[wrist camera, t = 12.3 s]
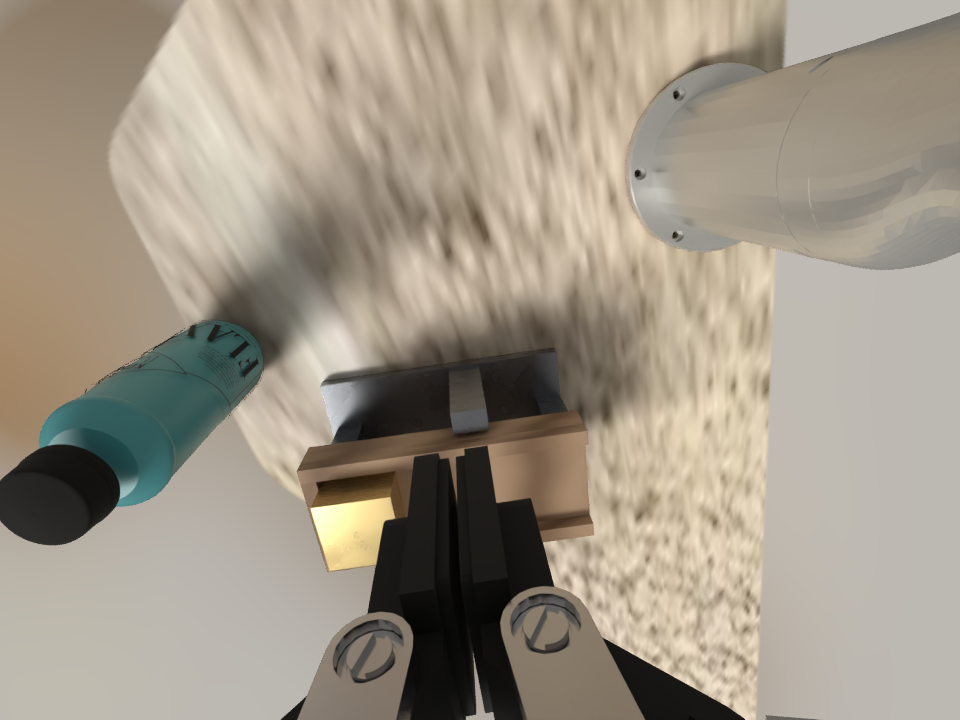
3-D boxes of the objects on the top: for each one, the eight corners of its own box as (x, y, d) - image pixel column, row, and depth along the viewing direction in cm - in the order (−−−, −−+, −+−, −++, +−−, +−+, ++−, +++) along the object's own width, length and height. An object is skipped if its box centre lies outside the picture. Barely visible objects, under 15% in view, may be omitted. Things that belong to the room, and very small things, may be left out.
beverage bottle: (290, 351, 40) (155, 509, 21) (237, 405, 41) (65, 598, 23) (221, 293, 38) (7, 411, 19) (168, 351, 39) (-82, 514, 21)
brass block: (395, 470, 34) (390, 497, 31) (408, 529, 36) (405, 560, 33) (322, 480, 34) (310, 508, 31) (339, 539, 36) (329, 571, 33)
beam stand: (553, 347, 41) (580, 391, 33) (564, 479, 46) (590, 546, 38) (323, 381, 41) (292, 434, 33) (356, 510, 46) (337, 585, 37)
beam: (576, 410, 35) (587, 430, 33) (583, 508, 38) (593, 535, 36) (309, 447, 35) (296, 471, 33) (336, 542, 38) (327, 572, 36)
